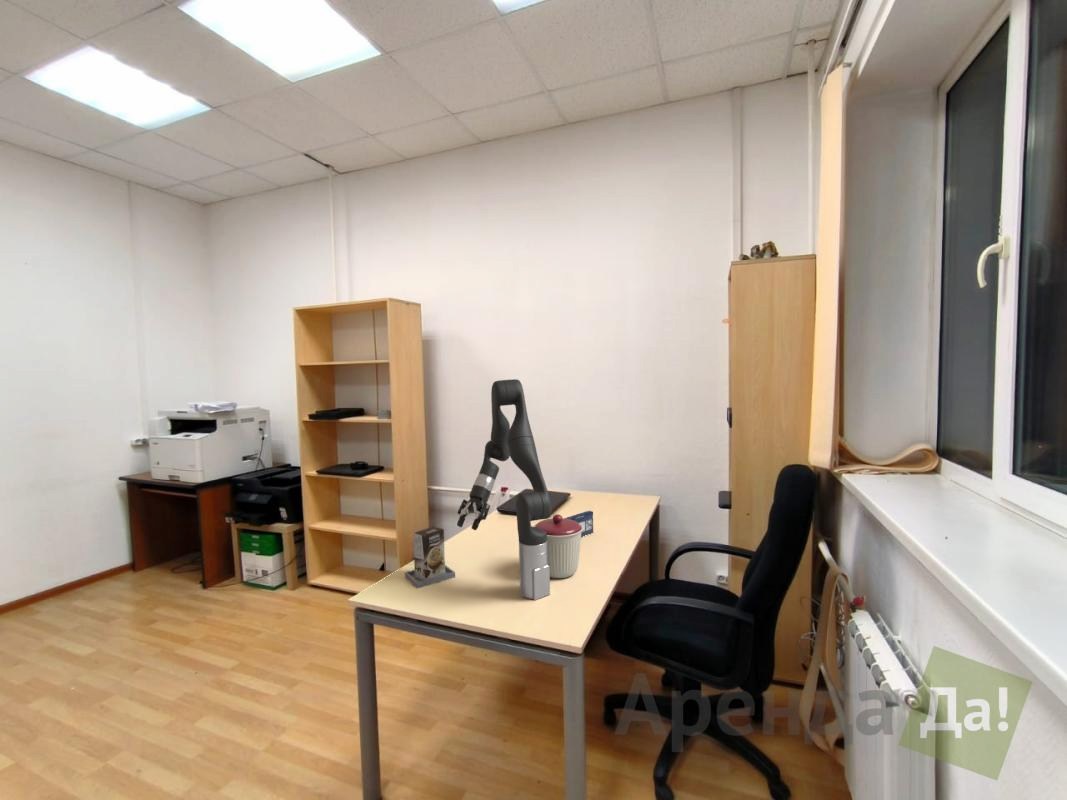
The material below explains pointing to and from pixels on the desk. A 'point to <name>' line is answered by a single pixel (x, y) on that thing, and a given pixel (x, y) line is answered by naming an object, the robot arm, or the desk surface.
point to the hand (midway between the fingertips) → (466, 527)
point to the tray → (421, 583)
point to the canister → (562, 545)
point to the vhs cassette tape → (584, 521)
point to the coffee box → (429, 553)
